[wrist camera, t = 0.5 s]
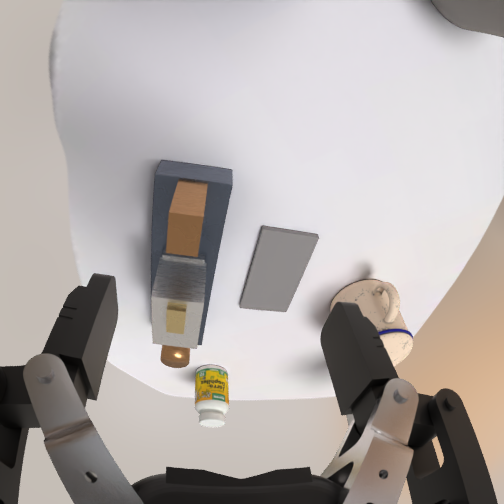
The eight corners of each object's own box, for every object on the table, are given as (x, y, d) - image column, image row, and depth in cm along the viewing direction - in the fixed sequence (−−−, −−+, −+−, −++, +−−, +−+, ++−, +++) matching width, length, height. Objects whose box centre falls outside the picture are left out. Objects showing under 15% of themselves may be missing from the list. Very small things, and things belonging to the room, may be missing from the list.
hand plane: (161, 159, 26) (140, 206, 20) (232, 169, 28) (233, 218, 21) (155, 321, 40) (147, 372, 34) (202, 327, 42) (200, 378, 35)
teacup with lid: (377, 320, 44) (401, 387, 35) (320, 323, 43) (338, 397, 34) (408, 259, 36) (447, 332, 27) (344, 258, 35) (376, 341, 26)
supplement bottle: (195, 377, 51) (193, 427, 44) (196, 362, 48) (194, 417, 40) (226, 379, 52) (227, 429, 44) (229, 364, 49) (231, 418, 41)
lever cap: (160, 257, 29) (149, 304, 24) (206, 263, 29) (203, 310, 25) (159, 305, 33) (151, 350, 28) (199, 310, 34) (196, 355, 29)
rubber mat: (262, 225, 32) (262, 229, 31) (317, 234, 33) (318, 237, 32) (239, 304, 39) (239, 307, 39) (285, 308, 40) (286, 312, 40)
